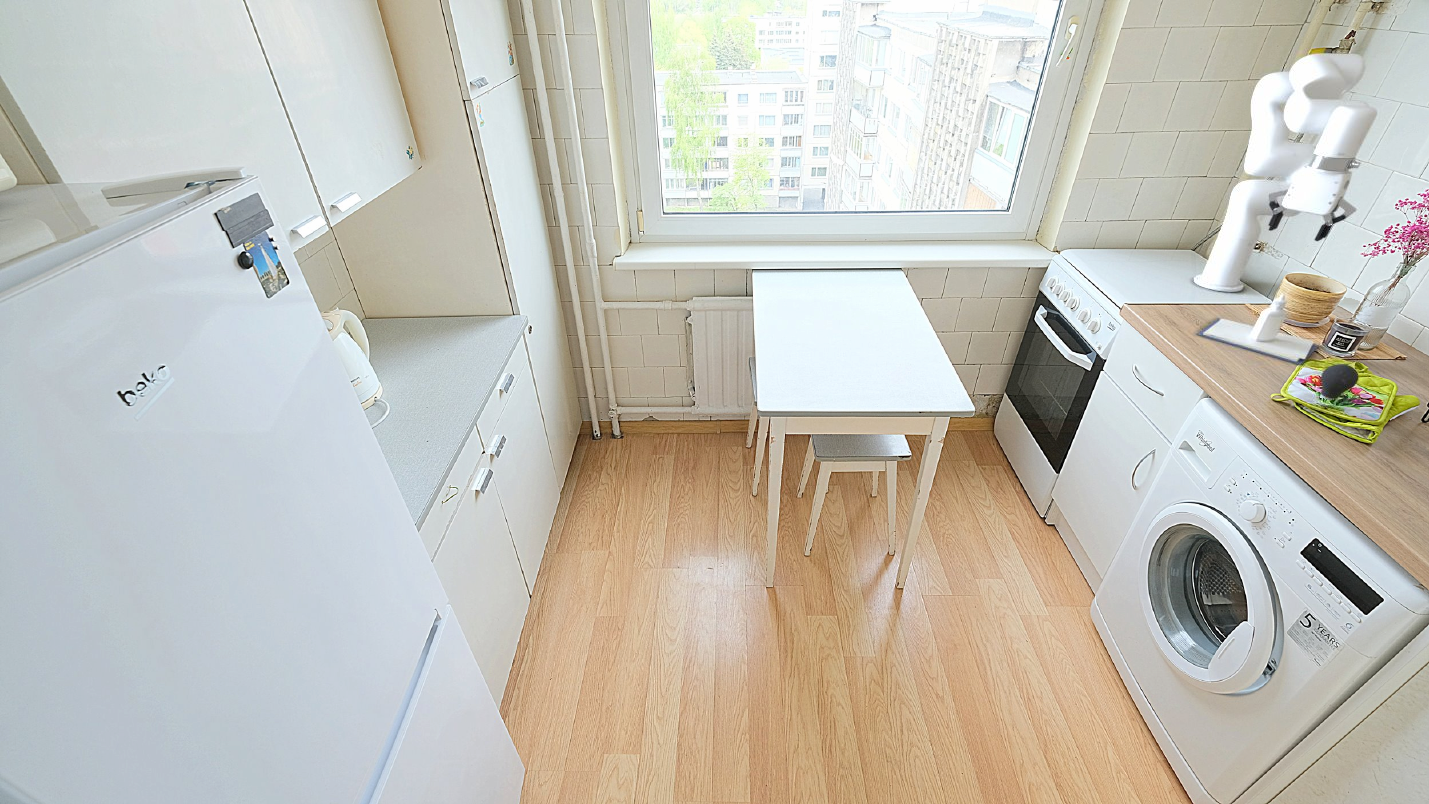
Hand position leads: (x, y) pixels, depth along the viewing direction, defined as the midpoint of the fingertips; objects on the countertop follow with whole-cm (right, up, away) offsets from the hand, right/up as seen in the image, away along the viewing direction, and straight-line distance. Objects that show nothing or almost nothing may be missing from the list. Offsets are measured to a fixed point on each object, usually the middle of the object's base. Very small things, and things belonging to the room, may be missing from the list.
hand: (1294, 234), depth 159 cm
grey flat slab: (-5, -26, +6) cm, 27 cm away
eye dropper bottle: (-4, -26, +5) cm, 27 cm away
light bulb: (-14, -43, -21) cm, 50 cm away
